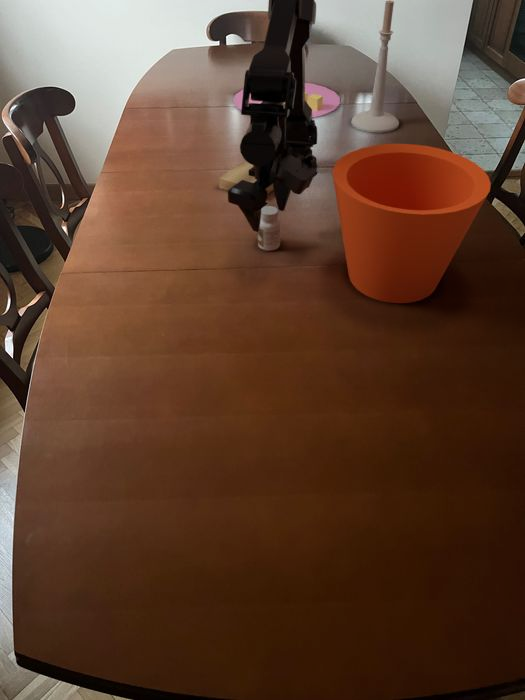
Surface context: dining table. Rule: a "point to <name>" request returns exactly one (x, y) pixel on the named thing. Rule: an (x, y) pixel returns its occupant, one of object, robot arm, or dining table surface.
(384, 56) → the candlestick
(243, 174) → the birch board
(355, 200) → the flowerpot
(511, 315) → the dining table surface
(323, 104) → the platter
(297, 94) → the robot arm
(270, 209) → the pill bottle
